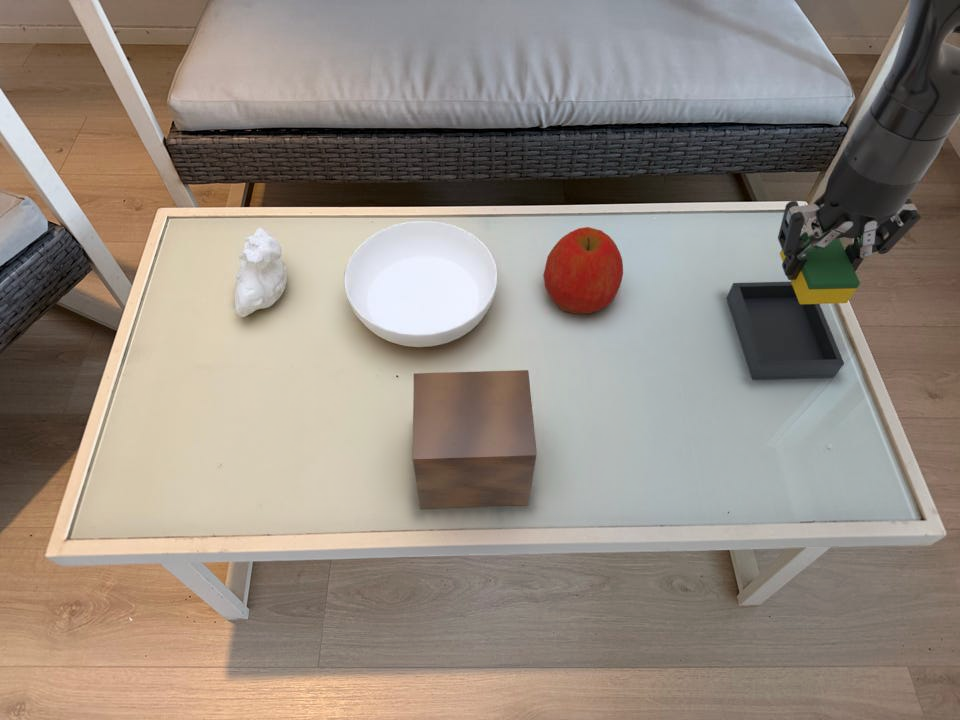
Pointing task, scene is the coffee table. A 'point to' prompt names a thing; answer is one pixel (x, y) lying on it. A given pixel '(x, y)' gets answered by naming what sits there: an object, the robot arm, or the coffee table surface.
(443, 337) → the bowl
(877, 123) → the robot arm
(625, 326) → the coffee table surface
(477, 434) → the wooden block
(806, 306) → the tray
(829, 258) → the sponge
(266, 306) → the bust
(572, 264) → the apple
